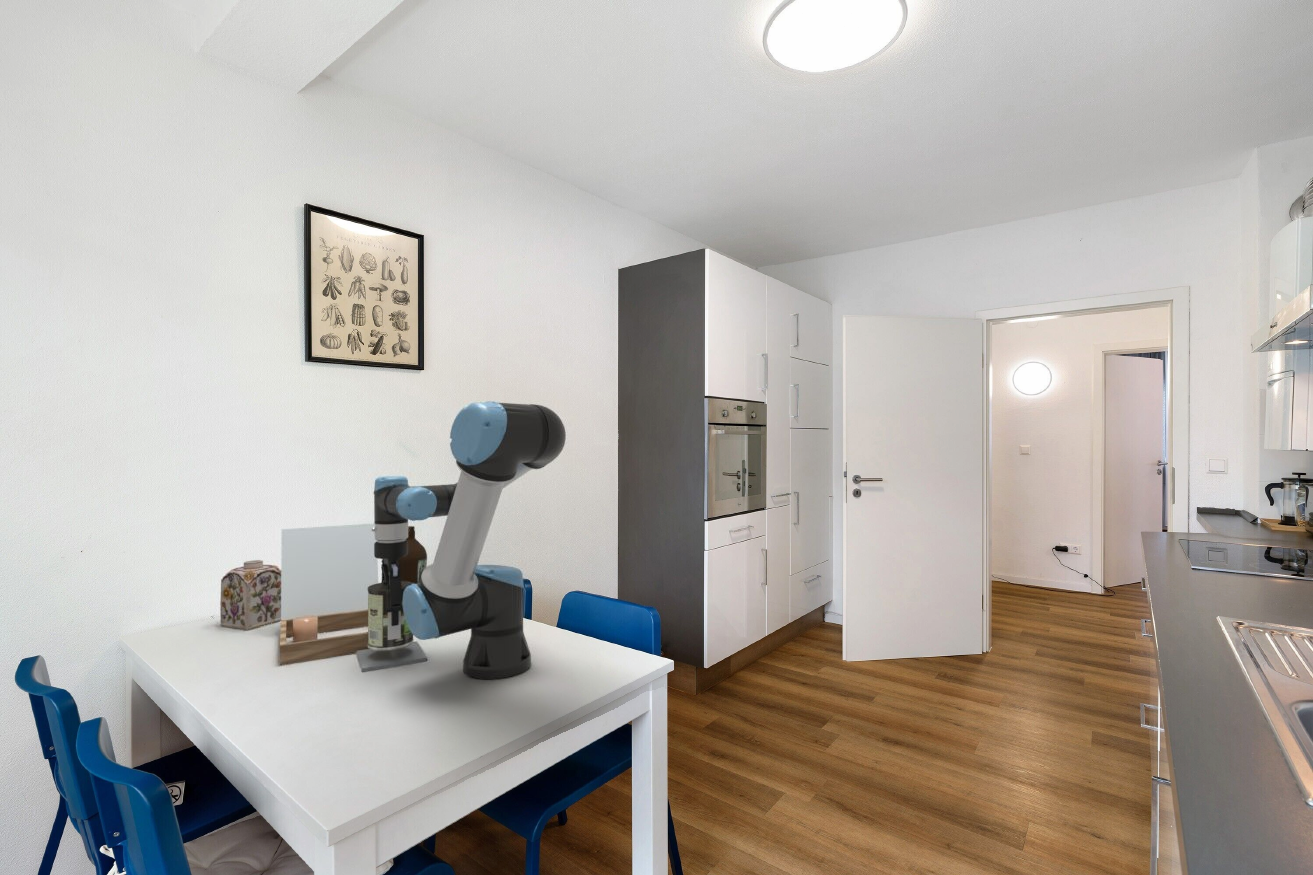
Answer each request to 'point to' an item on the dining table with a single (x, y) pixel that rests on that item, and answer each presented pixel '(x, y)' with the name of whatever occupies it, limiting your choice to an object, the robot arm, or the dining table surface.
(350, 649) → the open wooden box
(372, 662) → the plate
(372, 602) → the coffee can
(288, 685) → the dining table surface
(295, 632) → the pink pillar candle
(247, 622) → the decorative jar
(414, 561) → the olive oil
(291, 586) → the pale grey square panel
